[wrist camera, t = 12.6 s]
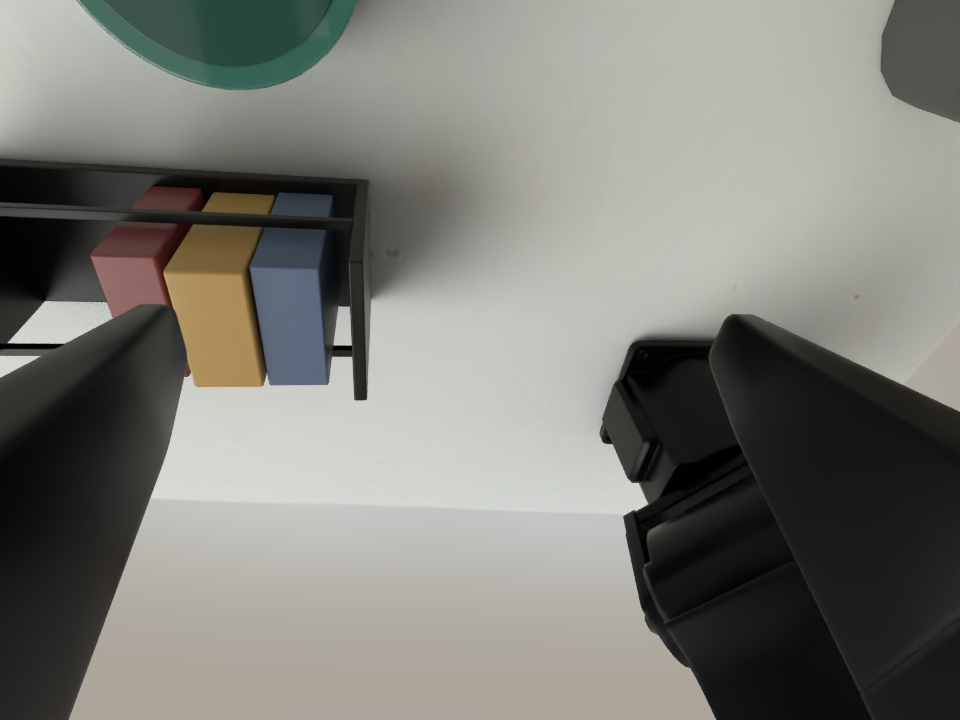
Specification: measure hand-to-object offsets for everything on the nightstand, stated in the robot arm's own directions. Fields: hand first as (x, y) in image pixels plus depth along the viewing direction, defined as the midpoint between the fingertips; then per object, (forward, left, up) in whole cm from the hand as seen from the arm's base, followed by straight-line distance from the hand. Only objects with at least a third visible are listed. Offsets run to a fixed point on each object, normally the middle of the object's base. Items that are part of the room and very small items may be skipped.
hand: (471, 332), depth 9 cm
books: (+6, +4, -11) cm, 14 cm away
